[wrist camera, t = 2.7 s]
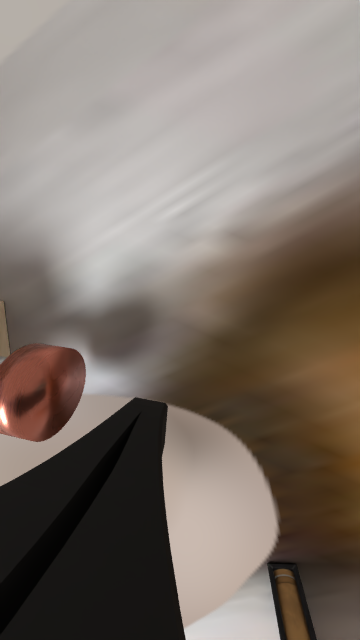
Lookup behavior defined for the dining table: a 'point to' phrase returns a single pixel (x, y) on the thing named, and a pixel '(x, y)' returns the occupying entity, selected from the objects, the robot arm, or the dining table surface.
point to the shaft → (39, 390)
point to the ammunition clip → (290, 603)
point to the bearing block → (3, 333)
